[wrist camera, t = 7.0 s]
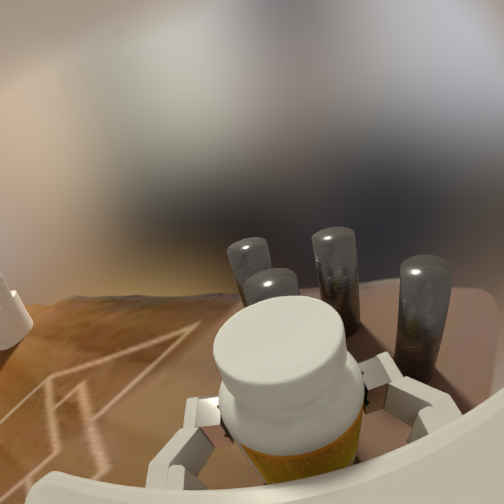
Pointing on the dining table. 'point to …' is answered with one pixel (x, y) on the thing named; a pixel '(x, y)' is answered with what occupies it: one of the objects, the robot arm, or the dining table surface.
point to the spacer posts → (357, 292)
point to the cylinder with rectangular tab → (12, 317)
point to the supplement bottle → (290, 388)
